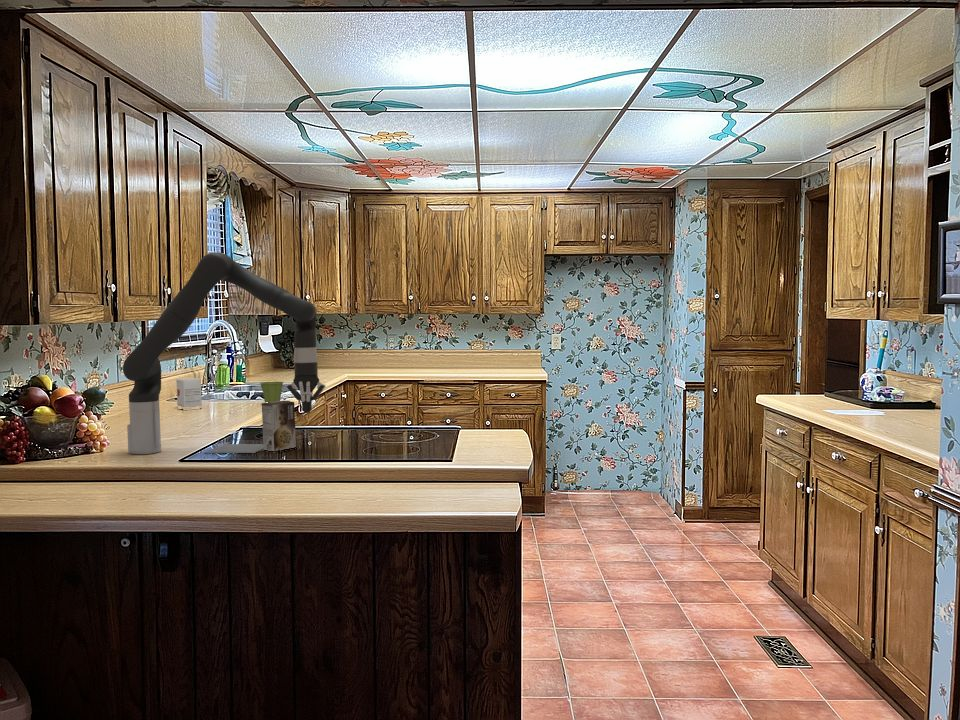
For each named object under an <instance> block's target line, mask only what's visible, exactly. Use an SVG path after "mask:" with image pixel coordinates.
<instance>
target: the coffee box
mask: <svg viewBox="0 0 960 720" xmlns="http://www.w3.org/2000/svg"><path fill="white" fill-rule="evenodd" d="M295 414H296V412H295V401H291V400H280V401H275V402H268V403H265V402H262V403H261V418H262V419H261V420H262V444H263V450H262V451H264V450H268V451H278V450H283V449H289V448H294V447H296V448H297V438H296V437H297V433H296V432H297V431H296V415H295ZM268 451H267V452H268Z"/></svg>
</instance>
